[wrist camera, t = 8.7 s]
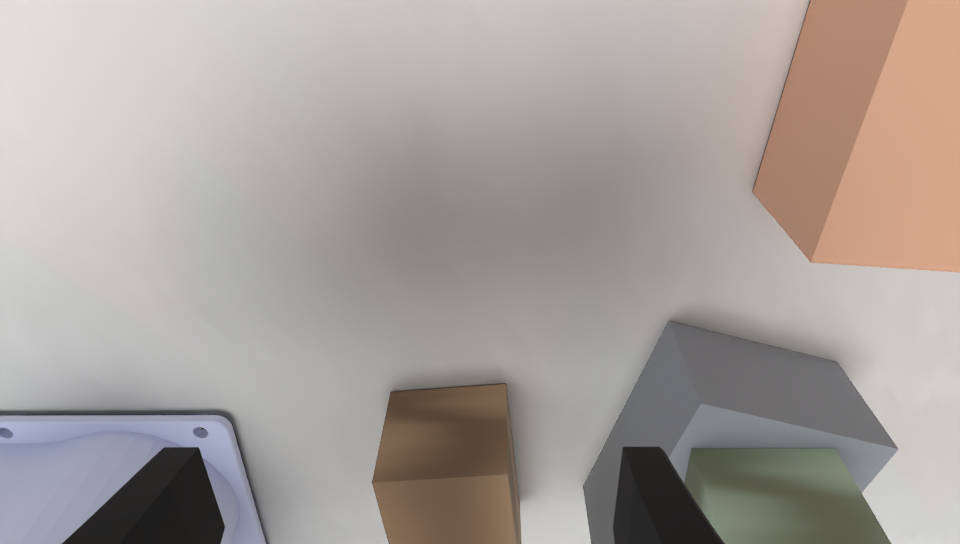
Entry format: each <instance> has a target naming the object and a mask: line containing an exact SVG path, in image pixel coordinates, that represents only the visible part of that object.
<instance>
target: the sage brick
mask: <svg viewBox="0 0 960 544" xmlns="http://www.w3.org/2000/svg"><path fill="white" fill-rule="evenodd" d="M685 486H686V487H687V489H688V490H689V492H690V494H691V495H692V497H693V498H694V500H695V501H696V503H697V504H698V506H699V507H700V509H701V510H702V512H703V513H704V515H705V516H706V518H707V519H708V521H709V522H710V524H711V525H712V526H713V528H714V529H715V531H716V532H717V534H718V535H719V536H720V538H721V539H722V540H723V542H724V543H725V544H891V543H890V541H889V539H888V537H887V536H886V534H885V532H884V531H883V529H882V527H881V526H880V524H879V522H878V520H877V519H876V517H875V515H874V514H873V512H872V510H871V509H870V507H869V505H868V503H867V502H866V500H865V498H864V497H863V495H862V493H861V492H860V490H859V488H858V486H857V485H856V483H855V481H854V480H853V478H852V476H851V475H850V473H849V471H848V469H847V468H846V466H845V464H844V463H843V461H842V459H841V458H840V456H839V454H838V452H837V451H836V449H835V448H691V453H690V458H689V463H688V468H687V473H686V478H685Z"/></svg>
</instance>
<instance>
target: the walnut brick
mask: <svg viewBox="0 0 960 544" xmlns="http://www.w3.org/2000/svg"><path fill="white" fill-rule="evenodd" d="M372 484H373V488H374V491H375V495H376V499H377V502H378V506H379V510H380V513H381V517H382V521H383V524H384V528H385V532H386V535H387V539H388V542H389V544H521V523H520V501H519V493H518V484H517V475H516V467H515V458H514V449H513V441H512V432H511V423H510V415H509V406H508V397H507V389H506V384H498V385H484V386H470V387H455V388H441V389H427V390H413V391H399V392H391V393H390V398H389V403H388V408H387V413H386V417H385V422H384V427H383V432H382V437H381V442H380V447H379V451H378V456H377V461H376V466H375V471H374V476H373V481H372Z"/></svg>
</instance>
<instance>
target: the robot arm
mask: <svg viewBox="0 0 960 544" xmlns="http://www.w3.org/2000/svg"><path fill="white" fill-rule="evenodd" d="M199 427H201V428H204V429H206V430H203V429H201V428H199ZM613 534H614V542H615V544H725V543H724V542H723V540H722V539H721V538H720V536H719V535H718V534H717V532H716V531H715V529H714V528H713V526H712V525H711V524H710V522H709V521H708V519H707V518H706V516H705V515H704V513H703V512H702V510H701V509H700V507H699V506H698V504H697V503H696V501H695V500H694V498H693V497H692V495H691V494H690V492H689V490H688V489H687V487H686V486H685V484H684V483H683V481H682V479H681V478H680V476H679V475H678V473H677V471H676V470H675V468H674V466H673V465H672V463H671V461H670V460H669V458H668V456H667V454H666V453H665V451H664V450H663V449H661V448H660V447H623V448H622V457H621V465H620V473H619V481H618V489H617V497H616V505H615V514H614V522H613ZM0 544H266V542H265V538H264V535H263V531H262V528H261V524H260V521H259V517H258V514H257V510H256V507H255V503H254V500H253V497H252V493H251V490H250V486H249V483H248V479H247V476H246V472H245V469H244V465H243V462H242V458H241V455H240V451H239V448H238V444H237V441H236V437H235V434H234V430H233V427H232V424H231V423H230V421H229V420H227V419H226V418H225V417H222V416H218V415H61V416H0Z"/></svg>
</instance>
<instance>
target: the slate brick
mask: <svg viewBox="0 0 960 544" xmlns="http://www.w3.org/2000/svg"><path fill="white" fill-rule="evenodd" d="M623 447H660V448H661V449H663V450H664V451H665V453H666V454H667V456H668V458H669V460H670V461H671V463H672V465H673V466H674V468H675V470H676V471H677V473H678V475H679V476H680V478H681V479H682V481H683V483H684V484H685V478H686V473H687V468H688V463H689V458H690V453H691V448H835V449H836V451H837V452H838V454H839V456H840V458H841V459H842V461H843V463H844V464H845V466H846V468H847V469H848V471H849V473H850V475H851V476H852V478H853V480H854V481H855V483H856V485H857V486H858V488H859V490H860V492H861V493H862V492H863V491H864V490H865V488H866V487H867V486H868V485H869V484H870V482H871V481H872V480H873V479H874V478H875V476H876V475H877V474H878V473H879V472H880V470H881V469H882V468H883V467H884V466H885V465H886V463H887V462H888V461H889V460H890V459H891V457H892V456H893V455H894V454H895V453H896V451H897V450H898V448H897V446H896V445H895V443H894V442H893V441H892V439H891V438H890V436H889V435H888V434H887V432H886V431H885V429H884V428H883V426H882V425H881V424H880V422H879V421H878V419H877V418H876V416H875V415H874V414H873V412H872V411H871V409H870V408H869V407H868V405H867V404H866V402H865V401H864V399H863V398H862V397H861V395H860V394H859V392H858V391H857V390H856V388H855V387H854V385H853V384H852V382H851V381H850V380H849V378H848V377H847V375H846V374H845V372H844V371H843V370H842V368H841V367H840V365H839V364H838V363H837V362H835V361H831V360H827V359H823V358H819V357H815V356H811V355H806V354H802V353H798V352H794V351H790V350H786V349H782V348H778V347H774V346H770V345H766V344H762V343H758V342H754V341H750V340H746V339H741V338H737V337H733V336H729V335H725V334H721V333H717V332H713V331H709V330H705V329H701V328H697V327H693V326H689V325H685V324H680V323H676V322H672V321H668V323H667V325H666V327H665V329H664V331H663V333H662V335H661V337H660V339H659V341H658V343H657V345H656V346H655V348H654V350H653V352H652V354H651V356H650V358H649V360H648V362H647V364H646V366H645V368H644V370H643V372H642V374H641V375H640V377H639V379H638V381H637V383H636V385H635V387H634V389H633V391H632V393H631V395H630V397H629V399H628V401H627V403H626V405H625V406H624V408H623V410H622V412H621V414H620V416H619V418H618V420H617V422H616V424H615V426H614V428H613V430H612V432H611V434H610V435H609V437H608V439H607V441H606V443H605V445H604V447H603V449H602V451H601V453H600V455H599V457H598V459H597V461H596V463H595V465H594V466H593V468H592V470H591V472H590V474H589V476H588V478H587V480H586V482H585V484H584V486H583V489H584V496H585V503H586V510H587V517H588V524H589V530H590V537H591V544H615V542H614V534H613V522H614V514H615V505H616V497H617V489H618V481H619V473H620V465H621V457H622V448H623Z"/></svg>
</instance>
